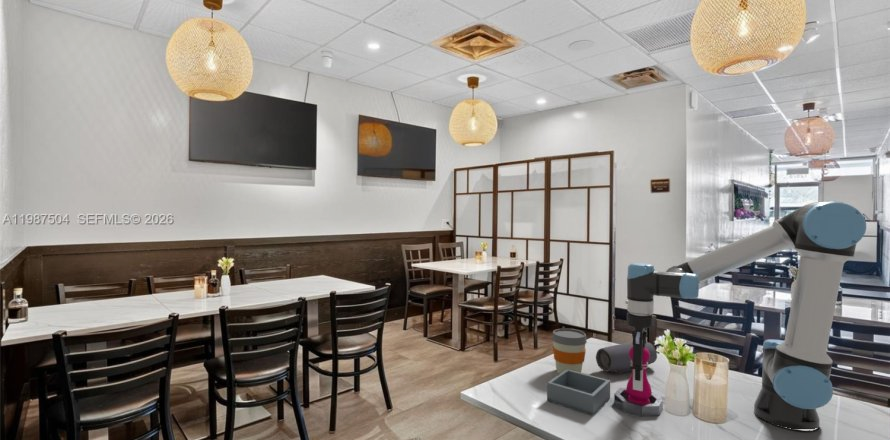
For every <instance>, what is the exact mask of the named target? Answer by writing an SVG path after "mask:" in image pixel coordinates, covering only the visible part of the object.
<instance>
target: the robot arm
mask: <svg viewBox="0 0 890 440" xmlns="http://www.w3.org/2000/svg"><path fill="white" fill-rule="evenodd" d="M866 230H867V222H866V219H865V217H864V215H863V214H862V212H861V211H860V210H859V209H857V208H856V207H854V206H852V205H851V204H848V203H844V202H841V201H836V200H831V201H830V200H825V201H816V202H811V203H807V204H805V205H803V206H801V207H799V208H797V209H796V210H794V211H792V212H790V213H788V214H787V215H785V216H782V217H780V218H778V219H775V220H773V222H772V224H771V225H770V226H768V227H766V228H763V229H761V230H759V231H755V232H753V233H752V234H749V235H747V236H745V237H742V238H739V239H738V240H735V241H733V242H731V243H728V244H725V245H722V246H721V247H718V248H716V249H713V250H711V251H709V252H707V253H705V254H702V255H700V256H697V257H695V258H693V259H690V260H688V261H686V262H684V263H683V262H682V263H681V264H679V265H673V266H671V267H669V268H668V269H666V271H657V270H655V266H654V265H653V264H651V263H643V262H635V263H630V264H629V265H628V267H627V277H626V282H627V283H626V286H627V287H626V289H627V290H626V295H627V296H626V297H627V298H626V300H625V302H624V303H625V305H626V310H627V313H626V324H627V325H628V326H630V327H634V329H633V330H632V332H631V337H632V343H633V366H632V367H631V369H633V389H634V390H639V391H643V368H642V363H643V348H644V347H645V348H646V342H647V336H648V331H647V329H651V328H653V326H654V308H655V307H654V302H655V301H654V296H657V297H667V298H668V297H669V298H677V299H678V298H679V299H684V300H687V299H691V300H693V299H694V300H695V299H698V298H699V291H700V290H699V289H700V288H699V287H700V283H704V282H706V281H707V280H710V279H713V278H715V277H718V276H720V275H723V274H726V273H728V272H731V271H734V270H736V269H739V268H740V267H744V266H746V265H749V264H752V263H754V262H756V261H757V262H758V261H759V260H762V259H764V258H767V257H769V256H772V255H774V254H777V253H779V252H783V251H784V250H787V249H789V250H792V251H793V250H795V251H796V252H797V253H798V255H799V256H800V258H799V264H798V267H797V274H796V278H795V279H796V280H795V283H794V284H795V285H794V287H793V288H794V289H793V294H792V299H791V305H790V309H789V315H788V316H789V317H788V321H787V325H786V332H785V337H784V340H782V339H765V340H764V341H763V345H762V348H761V350H762V366H761V367H762V372H761V373H762V375H761V378H762V379H761V389H760V391H759V392H758V395H757V397H756V399H755V401H754V404H753V413H754V414H755V415H756V416H757V415H758V416H759V417H761V418H762V419H761V418H760V419H761V420H763V419H764V420H766V421H768V422H767V423H769V422H770V423H769V424H771V423H773V424H775V425H774V426H776V425H779V426H782V427H787V428H791V429H815V428H818V427H819V428H820V421H821V420H820V417H819V413H818V411H817V409H819V408H823V407H824V406H826V405H827V404H829V402H831V400H832V398H833V395H834V388H833V384H832V381H831V380H830V378H831V373H832V372H831V371H832V368H833V367H832V366H833V359H832V358H831V357H830V356H829V354H828V353H827V350H828V345H829V340H830V336H831V330H832V325H833V321H834V315H835V311H836V306H837V305H836V304H837V299H838V295H839V289H840V284H841V280H842V275H843V269H844V264H845V263H846V262H847V261H850V260H851V259H853V258H854V256H855V251H856V247H857V244H858V243H859V242H860V241H861V240H862V239H863V237H864V236H865V234H866V232H867V231H866ZM758 416H757V417H758ZM759 417H758V418H759ZM764 420H763V421H764ZM766 421H765V422H766ZM773 424H772V425H773ZM779 426H778V427H779ZM782 427H781V428H782Z"/></svg>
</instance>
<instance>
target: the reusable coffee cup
mask: <svg viewBox="0 0 890 440" xmlns="http://www.w3.org/2000/svg"><path fill="white" fill-rule="evenodd" d="M551 340H552V341H553V345H552V352H553V359H554V360H555V361H554V362H555V368H556V373H557V375H559V374H560V373H562V372H563V371H565V370H566V369H568V370H572V371H576V372H580V373H582V369H583V363H585V358H586V350H587V349H586V344H587V334H586V333H585V332H584V331H581V330H579V329H573V328H557V329H554V330H552V338H551Z"/></svg>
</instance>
